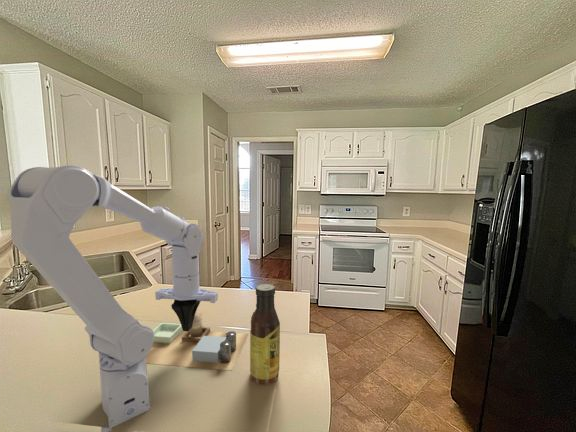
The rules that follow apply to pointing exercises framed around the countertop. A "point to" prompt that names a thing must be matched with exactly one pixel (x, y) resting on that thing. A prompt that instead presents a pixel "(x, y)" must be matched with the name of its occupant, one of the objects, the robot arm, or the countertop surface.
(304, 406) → the countertop surface
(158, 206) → the robot arm
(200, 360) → the slate block
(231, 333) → the bench dogs
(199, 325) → the beech dowel
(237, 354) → the bench board
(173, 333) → the sage tray
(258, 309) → the sauce bottle
